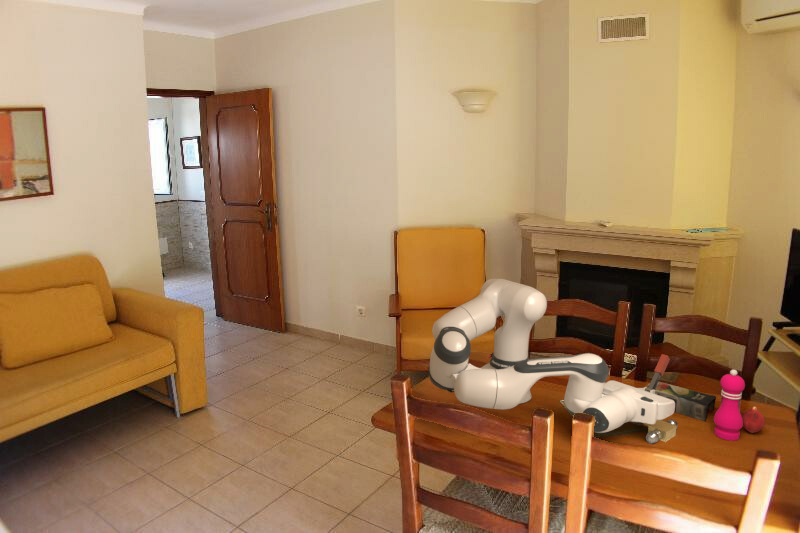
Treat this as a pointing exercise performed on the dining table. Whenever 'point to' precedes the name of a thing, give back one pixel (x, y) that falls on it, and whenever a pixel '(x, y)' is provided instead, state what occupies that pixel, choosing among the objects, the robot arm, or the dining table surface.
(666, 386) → the juice carton
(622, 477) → the dining table surface
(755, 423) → the onion
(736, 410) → the pepper mill
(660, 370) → the valve lever
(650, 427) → the valve body
